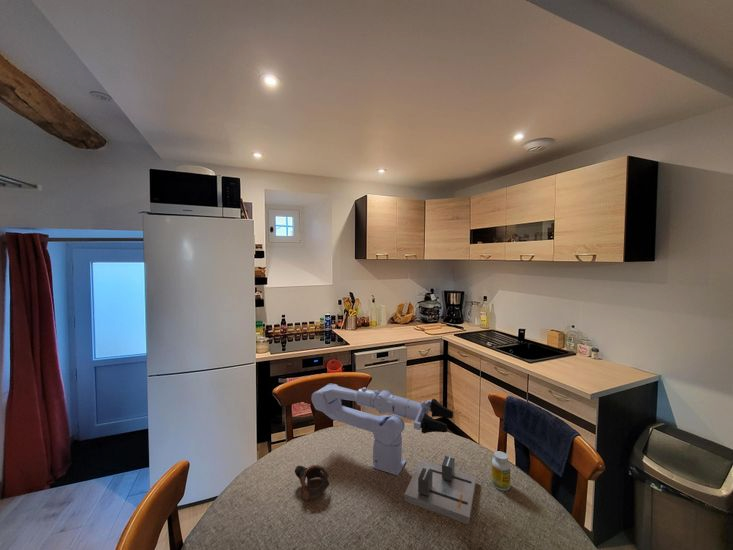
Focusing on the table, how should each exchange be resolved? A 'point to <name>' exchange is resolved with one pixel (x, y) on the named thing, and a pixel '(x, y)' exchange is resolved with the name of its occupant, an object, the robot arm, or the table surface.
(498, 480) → the supplement bottle
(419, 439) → the table surface
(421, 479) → the block
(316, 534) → the table surface
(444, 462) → the far fader
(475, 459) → the table surface
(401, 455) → the robot arm
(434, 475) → the fader panel
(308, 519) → the table surface
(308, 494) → the pottery mug
